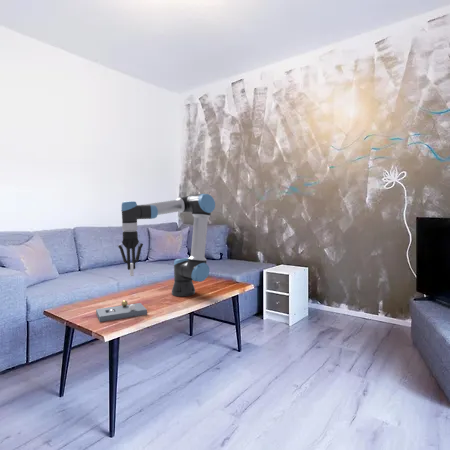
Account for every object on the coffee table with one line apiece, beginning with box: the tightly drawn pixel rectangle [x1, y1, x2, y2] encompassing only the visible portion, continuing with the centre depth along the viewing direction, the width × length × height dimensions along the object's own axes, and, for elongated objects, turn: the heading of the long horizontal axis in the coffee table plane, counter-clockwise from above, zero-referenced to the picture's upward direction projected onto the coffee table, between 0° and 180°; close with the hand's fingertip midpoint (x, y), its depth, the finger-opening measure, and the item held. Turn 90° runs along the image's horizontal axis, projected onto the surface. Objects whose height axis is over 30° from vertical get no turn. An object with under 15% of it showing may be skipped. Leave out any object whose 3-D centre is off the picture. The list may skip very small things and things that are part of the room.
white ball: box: [129, 303, 136, 311], centre depth 163 cm, size 3×3×3 cm
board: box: [95, 302, 148, 323], centre depth 165 cm, size 23×14×2 cm, turn 118°
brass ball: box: [121, 299, 129, 306], centre depth 171 cm, size 3×3×3 cm
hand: (131, 275), depth 167 cm, fingers closed
